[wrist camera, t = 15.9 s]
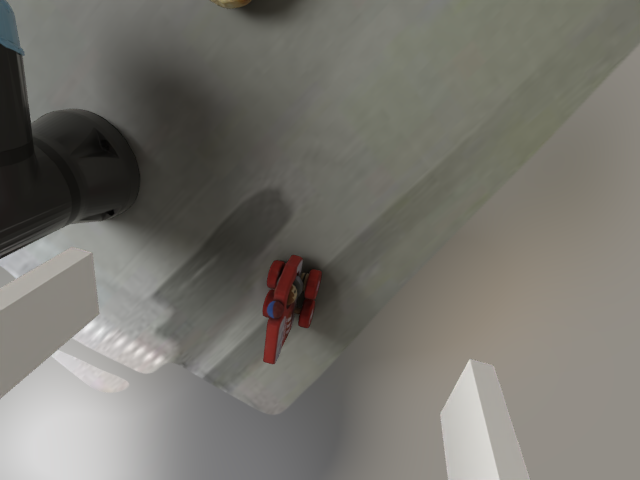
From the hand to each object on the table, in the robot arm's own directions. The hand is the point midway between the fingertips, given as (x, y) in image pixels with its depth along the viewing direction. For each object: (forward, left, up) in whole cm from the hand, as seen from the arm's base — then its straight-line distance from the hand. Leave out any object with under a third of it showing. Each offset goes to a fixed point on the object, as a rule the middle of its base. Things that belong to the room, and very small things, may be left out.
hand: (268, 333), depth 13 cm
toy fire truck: (-4, -22, -35) cm, 41 cm away
